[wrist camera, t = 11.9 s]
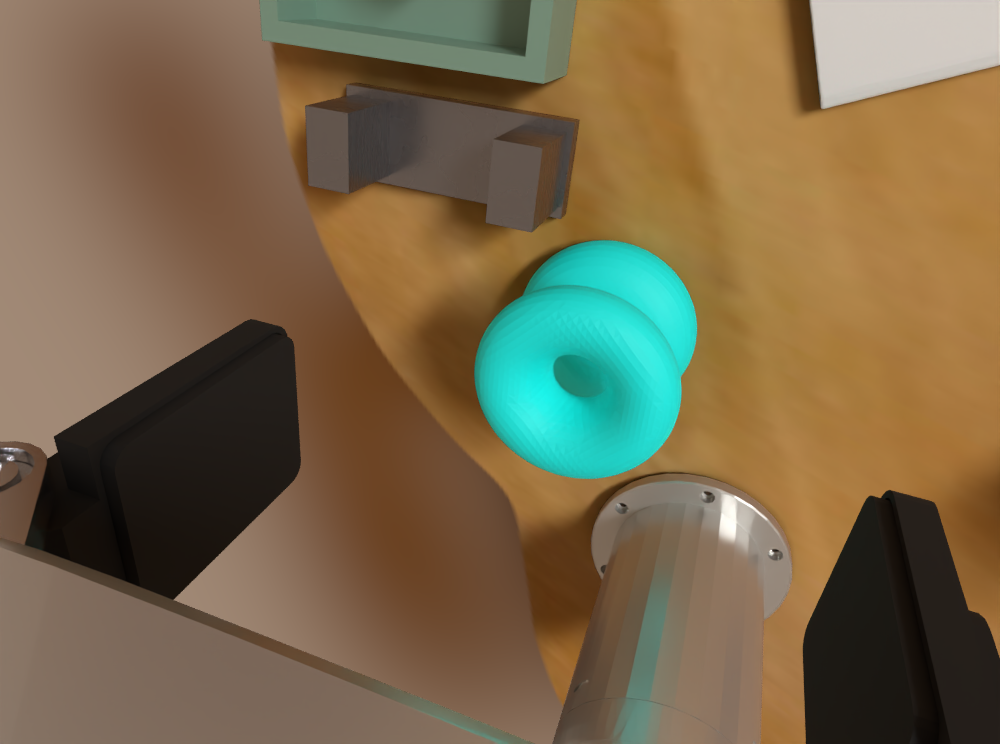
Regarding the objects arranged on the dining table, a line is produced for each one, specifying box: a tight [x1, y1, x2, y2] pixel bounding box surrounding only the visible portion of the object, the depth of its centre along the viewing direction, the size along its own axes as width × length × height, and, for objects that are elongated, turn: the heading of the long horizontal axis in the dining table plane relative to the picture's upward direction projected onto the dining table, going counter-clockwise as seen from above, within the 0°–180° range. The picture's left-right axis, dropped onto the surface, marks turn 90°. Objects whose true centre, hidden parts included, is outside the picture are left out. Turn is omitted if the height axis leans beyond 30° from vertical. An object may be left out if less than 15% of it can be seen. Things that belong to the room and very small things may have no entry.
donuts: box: [474, 240, 697, 479], centre depth 36 cm, size 10×10×10 cm
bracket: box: [305, 83, 579, 232], centre depth 36 cm, size 13×5×6 cm, turn 84°
